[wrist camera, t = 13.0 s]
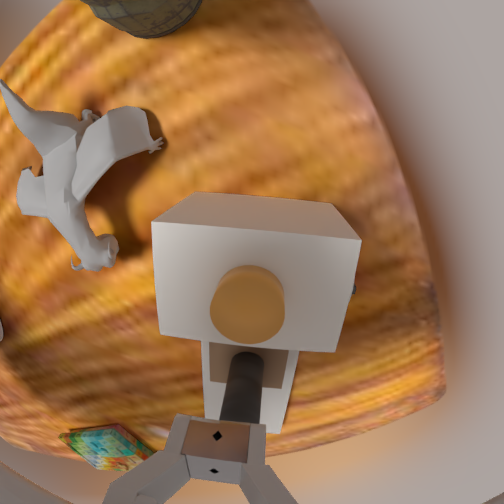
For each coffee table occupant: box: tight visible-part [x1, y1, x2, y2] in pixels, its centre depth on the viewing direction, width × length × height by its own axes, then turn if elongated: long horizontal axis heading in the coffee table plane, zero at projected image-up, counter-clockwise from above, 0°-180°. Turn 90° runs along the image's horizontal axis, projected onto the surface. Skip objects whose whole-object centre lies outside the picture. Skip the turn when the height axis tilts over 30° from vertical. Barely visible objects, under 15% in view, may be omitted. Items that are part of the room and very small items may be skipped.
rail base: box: [151, 192, 362, 434], centre depth 26 cm, size 13×30×10 cm, turn 176°
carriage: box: [209, 342, 289, 424], centre depth 24 cm, size 7×6×10 cm
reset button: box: [210, 265, 285, 344], centre depth 17 cm, size 4×4×2 cm
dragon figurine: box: [0, 79, 164, 271], centre depth 22 cm, size 15×15×9 cm
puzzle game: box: [58, 424, 154, 471], centre depth 42 cm, size 12×5×20 cm
